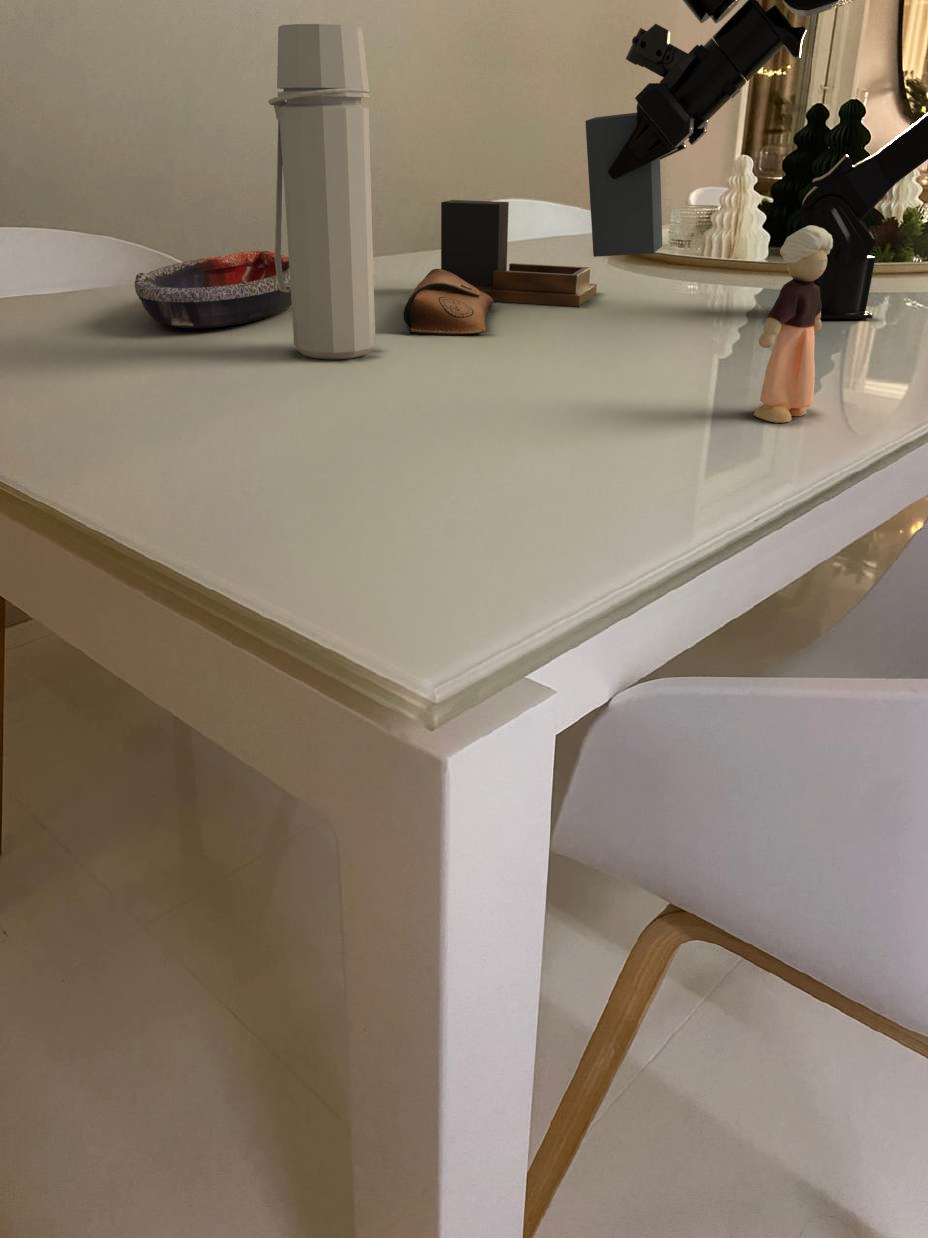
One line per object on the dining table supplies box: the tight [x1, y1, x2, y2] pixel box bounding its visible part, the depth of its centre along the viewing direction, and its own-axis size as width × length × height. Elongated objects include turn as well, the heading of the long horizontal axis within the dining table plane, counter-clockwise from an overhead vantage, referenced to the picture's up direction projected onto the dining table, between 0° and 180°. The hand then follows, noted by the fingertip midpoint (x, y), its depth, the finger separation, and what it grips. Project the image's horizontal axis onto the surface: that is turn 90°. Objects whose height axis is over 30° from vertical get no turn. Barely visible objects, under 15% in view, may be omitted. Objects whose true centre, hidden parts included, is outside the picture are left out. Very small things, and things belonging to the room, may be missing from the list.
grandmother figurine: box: [753, 226, 833, 424], centre depth 70 cm, size 8×4×13 cm, turn 148°
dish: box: [134, 250, 292, 329], centre depth 107 cm, size 16×31×5 cm, turn 171°
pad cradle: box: [440, 199, 598, 308], centre depth 118 cm, size 18×10×10 cm, turn 72°
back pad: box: [584, 112, 663, 258], centre depth 111 cm, size 7×4×14 cm, turn 67°
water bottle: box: [267, 23, 376, 361], centre depth 84 cm, size 9×8×25 cm
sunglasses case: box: [402, 268, 495, 336], centre depth 105 cm, size 18×7×7 cm, turn 177°
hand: (614, 174), depth 111 cm, fingers closed on back pad, 4 cm apart
